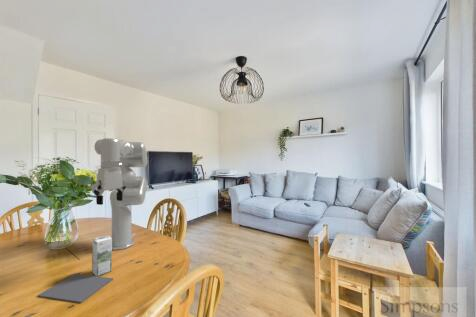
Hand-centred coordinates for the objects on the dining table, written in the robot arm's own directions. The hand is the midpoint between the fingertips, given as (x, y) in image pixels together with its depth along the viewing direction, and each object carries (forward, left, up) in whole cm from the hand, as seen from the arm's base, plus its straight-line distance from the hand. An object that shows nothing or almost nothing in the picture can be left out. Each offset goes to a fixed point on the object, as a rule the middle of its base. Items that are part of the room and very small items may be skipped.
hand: (110, 202), depth 96 cm
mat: (+18, +2, -28) cm, 33 cm away
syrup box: (+7, +2, -29) cm, 29 cm away
